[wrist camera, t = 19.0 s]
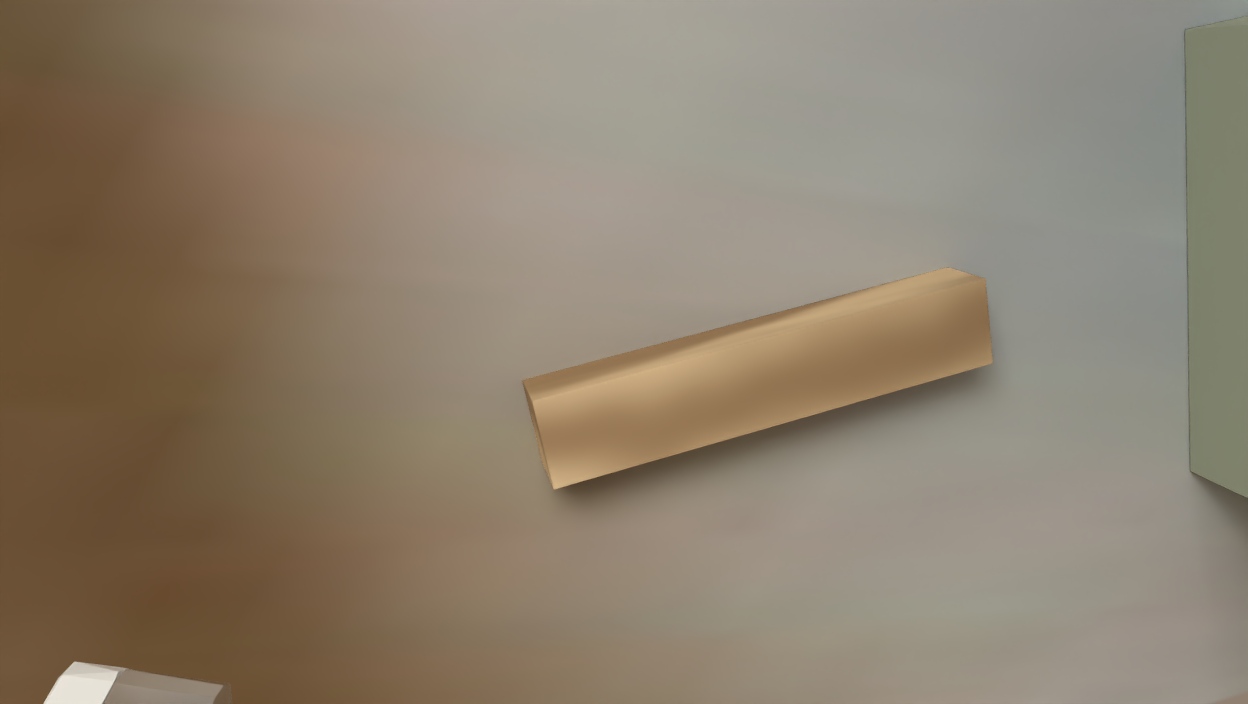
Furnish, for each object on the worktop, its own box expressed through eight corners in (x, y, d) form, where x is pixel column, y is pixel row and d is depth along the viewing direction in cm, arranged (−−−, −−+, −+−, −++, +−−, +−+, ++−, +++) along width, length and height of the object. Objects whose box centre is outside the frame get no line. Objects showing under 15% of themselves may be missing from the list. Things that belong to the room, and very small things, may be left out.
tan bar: (521, 377, 37) (532, 401, 34) (943, 265, 40) (985, 278, 37) (541, 459, 38) (553, 489, 35) (951, 344, 41) (992, 363, 38)
